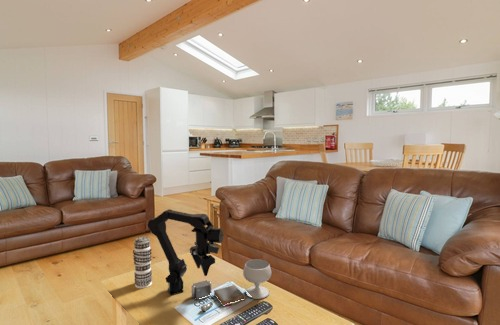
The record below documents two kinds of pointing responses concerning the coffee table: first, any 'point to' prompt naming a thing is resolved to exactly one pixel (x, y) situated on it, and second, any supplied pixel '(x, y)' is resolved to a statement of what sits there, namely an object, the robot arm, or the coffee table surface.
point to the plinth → (229, 294)
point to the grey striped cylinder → (142, 262)
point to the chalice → (257, 277)
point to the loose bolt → (206, 306)
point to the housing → (201, 289)
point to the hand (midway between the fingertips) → (202, 271)
